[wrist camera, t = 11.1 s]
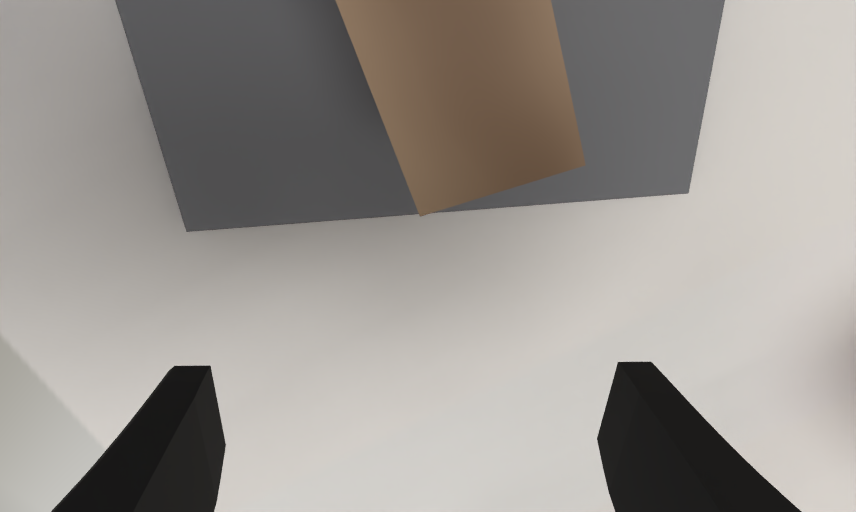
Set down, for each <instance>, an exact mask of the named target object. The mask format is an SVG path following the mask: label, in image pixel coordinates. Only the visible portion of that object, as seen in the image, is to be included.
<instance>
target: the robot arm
mask: <svg viewBox="0 0 856 512" xmlns="http://www.w3.org/2000/svg"><path fill="white" fill-rule="evenodd" d="M597 440H598V445H599V450H600V455H601V460H602V464H603V469H604V473H605V478H606V482H607V486H608V490H609V494H610V497H611V500H612V503H613V506H614V509H615V512H801V511H800V510H799V509H798V508H797V507H795V506H794V505H793V504H792V503H791V502H790V501H789V500H788V499H787V498H785V497H784V496H783V495H782V494H781V493H780V492H779V491H778V490H777V489H776V488H774V487H773V486H772V485H771V484H770V483H769V482H768V481H767V480H766V479H765V478H764V477H762V476H761V475H760V474H759V473H758V472H757V471H756V470H755V469H754V468H753V467H752V466H751V465H750V464H749V463H748V462H747V461H746V460H745V459H744V458H743V457H742V456H741V455H740V454H739V453H738V452H737V451H736V450H735V449H734V448H733V447H732V446H731V445H730V444H729V443H728V442H727V441H726V440H725V439H724V438H723V437H722V436H721V435H720V434H719V433H718V432H717V431H716V430H715V429H714V428H713V427H712V426H711V425H710V424H709V423H708V422H707V421H706V420H705V419H704V418H703V417H702V416H701V414H700V413H699V412H698V411H697V410H696V409H695V408H694V407H693V406H692V405H691V404H690V403H689V402H688V401H687V400H686V398H685V397H684V396H683V395H682V394H681V393H680V392H679V391H678V390H677V389H676V388H675V387H674V386H673V385H672V383H671V382H670V381H669V380H668V379H667V378H666V377H665V376H664V375H663V374H662V373H661V372H660V371H659V369H658V368H657V367H656V366H655V365H654V364H653V363H652V362H618V364H617V368H616V372H615V375H614V379H613V383H612V386H611V390H610V394H609V397H608V401H607V405H606V408H605V412H604V416H603V419H602V423H601V427H600V430H599V434H598V438H597ZM225 446H226V444H225V439H224V434H223V429H222V424H221V418H220V413H219V408H218V403H217V398H216V392H215V387H214V382H213V377H212V372H211V366H174V367H173V368H172V369H171V370H169V371H168V373H167V374H166V375H165V377H164V378H163V379H162V381H161V382H160V383H159V385H158V386H157V387H156V389H155V390H154V391H153V393H152V394H151V395H150V397H149V398H148V399H147V400H146V402H145V403H144V404H143V406H142V407H141V408H140V409H139V411H138V412H137V413H136V415H135V416H134V417H133V418H132V420H131V421H130V422H129V423H128V425H127V426H126V427H125V428H124V430H123V431H122V432H121V433H120V434H119V436H118V437H117V438H116V439H115V440H114V442H113V443H112V444H111V445H110V446H109V447H108V449H107V450H106V451H105V452H104V453H103V455H102V456H101V457H100V458H99V459H98V461H97V462H96V463H95V464H94V465H93V467H92V468H91V469H90V470H89V471H88V472H87V473H86V475H85V476H84V477H83V478H82V479H81V480H80V481H79V482H78V483H77V484H76V485H75V486H74V488H73V489H72V490H71V491H70V492H69V493H68V494H67V495H66V496H65V497H64V498H63V500H62V501H61V502H60V503H59V504H58V505H57V506H56V507H55V508H54V509H53V510H52V512H214V509H215V506H216V502H217V496H218V490H219V485H220V479H221V472H222V466H223V459H224V453H225Z"/></svg>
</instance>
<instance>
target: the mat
mask: <svg viewBox="0 0 856 512" xmlns="http://www.w3.org/2000/svg"><path fill="white" fill-rule="evenodd" d="M115 1H116V4H117V7H118V10H119V14H120V17H121V20H122V23H123V27H124V30H125V33H126V36H127V40H128V43H129V46H130V49H131V53H132V56H133V59H134V62H135V66H136V69H137V72H138V75H139V79H140V82H141V85H142V88H143V92H144V95H145V98H146V101H147V105H148V108H149V111H150V114H151V118H152V121H153V124H154V127H155V131H156V134H157V137H158V140H159V144H160V147H161V150H162V153H163V157H164V160H165V163H166V166H167V170H168V173H169V176H170V179H171V183H172V186H173V189H174V192H175V196H176V199H177V202H178V205H179V209H180V212H181V215H182V218H183V222H184V225H185V228H186V231H187V232H190V231H203V230H216V229H229V228H242V227H255V226H268V225H281V224H294V223H307V222H320V221H333V220H347V219H360V218H373V217H386V216H399V215H412V214H419V213H418V210H417V208H416V205H415V202H414V200H413V197H412V195H411V192H410V190H409V187H408V185H407V182H406V179H405V177H404V174H403V172H402V169H401V167H400V164H399V161H398V159H397V156H396V154H395V151H394V149H393V146H392V144H391V141H390V138H389V136H388V133H387V131H386V128H385V126H384V123H383V121H382V118H381V115H380V113H379V110H378V108H377V105H376V103H375V100H374V98H373V95H372V92H371V90H370V87H369V85H368V82H367V80H366V77H365V75H364V72H363V69H362V67H361V64H360V62H359V59H358V57H357V54H356V51H355V49H354V46H353V44H352V41H351V39H350V36H349V34H348V31H347V28H346V26H345V23H344V21H343V18H342V16H341V13H340V11H339V8H338V5H337V3H336V0H115ZM724 2H725V0H551V3H552V8H553V12H554V17H555V22H556V27H557V31H558V36H559V41H560V46H561V50H562V55H563V60H564V64H565V69H566V74H567V79H568V83H569V88H570V93H571V98H572V102H573V107H574V112H575V117H576V121H577V126H578V131H579V136H580V140H581V145H582V150H583V155H584V159H585V164H586V165H585V166H582V167H579V168H576V169H572V170H569V171H566V172H563V173H559V174H556V175H553V176H550V177H546V178H543V179H540V180H537V181H533V182H530V183H527V184H524V185H521V186H517V187H514V188H511V189H508V190H504V191H501V192H498V193H495V194H491V195H488V196H485V197H482V198H478V199H475V200H472V201H469V202H465V203H462V204H459V205H456V206H452V207H449V208H446V209H443V210H439V211H436V212H433V213H438V212H451V211H464V210H477V209H490V208H503V207H516V206H530V205H543V204H556V203H569V202H582V201H595V200H608V199H621V198H634V197H647V196H660V195H673V194H686V193H688V192H689V187H690V182H691V177H692V171H693V166H694V161H695V155H696V150H697V145H698V139H699V134H700V129H701V124H702V118H703V113H704V108H705V102H706V97H707V92H708V86H709V81H710V76H711V71H712V65H713V60H714V55H715V49H716V44H717V39H718V33H719V28H720V23H721V17H722V12H723V7H724Z"/></svg>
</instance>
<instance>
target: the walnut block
mask: <svg viewBox="0 0 856 512" xmlns="http://www.w3.org/2000/svg"><path fill="white" fill-rule="evenodd" d="M336 3H337V5H338V8H339V11H340V13H341V16H342V18H343V21H344V23H345V26H346V28H347V31H348V34H349V36H350V39H351V41H352V44H353V46H354V49H355V51H356V54H357V57H358V59H359V62H360V64H361V67H362V69H363V72H364V75H365V77H366V80H367V82H368V85H369V87H370V90H371V92H372V95H373V98H374V100H375V103H376V105H377V108H378V110H379V113H380V115H381V118H382V121H383V123H384V126H385V128H386V131H387V133H388V136H389V138H390V141H391V144H392V146H393V149H394V151H395V154H396V156H397V159H398V161H399V164H400V167H401V169H402V172H403V174H404V177H405V179H406V182H407V185H408V187H409V190H410V192H411V195H412V197H413V200H414V202H415V205H416V208H417V210H418V213H419V215H420V216H423V215H426V214H430V213H433V212H436V211H439V210H443V209H446V208H449V207H452V206H456V205H459V204H462V203H465V202H469V201H472V200H475V199H478V198H482V197H485V196H488V195H491V194H495V193H498V192H501V191H504V190H508V189H511V188H514V187H517V186H521V185H524V184H527V183H530V182H533V181H537V180H540V179H543V178H546V177H550V176H553V175H556V174H559V173H563V172H566V171H569V170H572V169H576V168H579V167H582V166H585V165H586V164H585V159H584V155H583V150H582V145H581V140H580V136H579V131H578V126H577V121H576V117H575V112H574V107H573V102H572V98H571V93H570V88H569V83H568V79H567V74H566V69H565V64H564V60H563V55H562V50H561V46H560V41H559V36H558V31H557V27H556V22H555V17H554V12H553V8H552V3H551V0H336Z"/></svg>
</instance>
